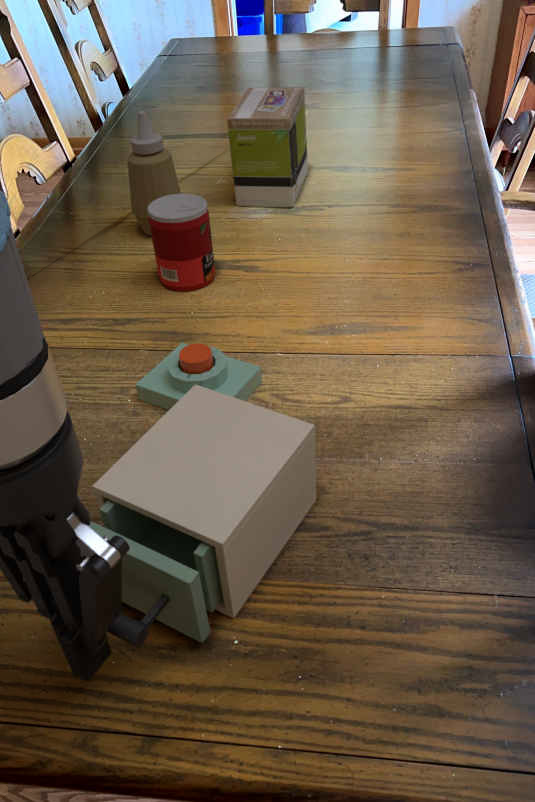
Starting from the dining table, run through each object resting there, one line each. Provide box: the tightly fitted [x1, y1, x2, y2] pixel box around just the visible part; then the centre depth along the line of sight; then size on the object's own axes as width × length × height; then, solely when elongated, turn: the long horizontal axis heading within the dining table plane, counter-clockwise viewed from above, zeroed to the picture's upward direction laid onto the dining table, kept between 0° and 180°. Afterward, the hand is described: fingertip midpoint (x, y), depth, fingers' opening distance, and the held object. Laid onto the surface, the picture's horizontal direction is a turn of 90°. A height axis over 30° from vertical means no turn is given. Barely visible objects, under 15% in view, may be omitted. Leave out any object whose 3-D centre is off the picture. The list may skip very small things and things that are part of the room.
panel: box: [135, 342, 263, 411], centre depth 80 cm, size 11×9×4 cm
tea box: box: [226, 86, 309, 208], centre depth 118 cm, size 15×10×15 cm, turn 168°
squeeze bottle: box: [126, 110, 182, 236], centre depth 108 cm, size 8×8×18 cm
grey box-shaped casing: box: [92, 385, 317, 619], centre depth 63 cm, size 15×13×10 cm
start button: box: [179, 343, 213, 374], centre depth 79 cm, size 4×4×2 cm
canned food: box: [147, 193, 216, 292], centre depth 97 cm, size 8×8×11 cm
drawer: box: [89, 499, 223, 649], centre depth 59 cm, size 18×11×8 cm, turn 150°
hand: (92, 662), depth 53 cm, fingers closed
